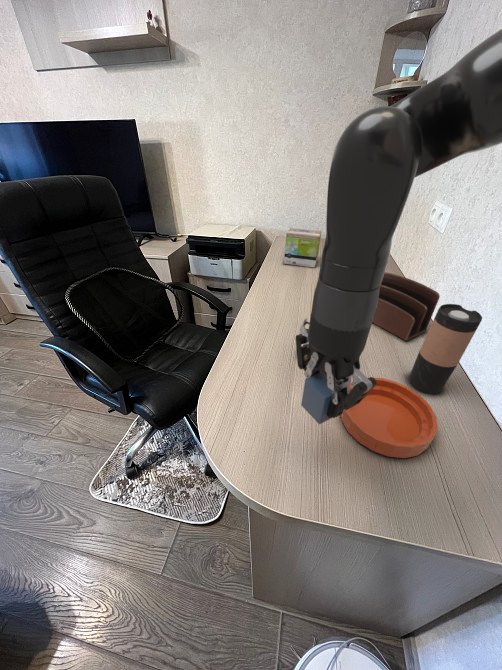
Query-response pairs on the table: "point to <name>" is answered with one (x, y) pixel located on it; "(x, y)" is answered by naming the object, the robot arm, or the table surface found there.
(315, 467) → the table surface
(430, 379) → the travel mug
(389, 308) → the letter holder
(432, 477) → the table surface
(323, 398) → the block
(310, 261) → the tea box
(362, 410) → the bowl
